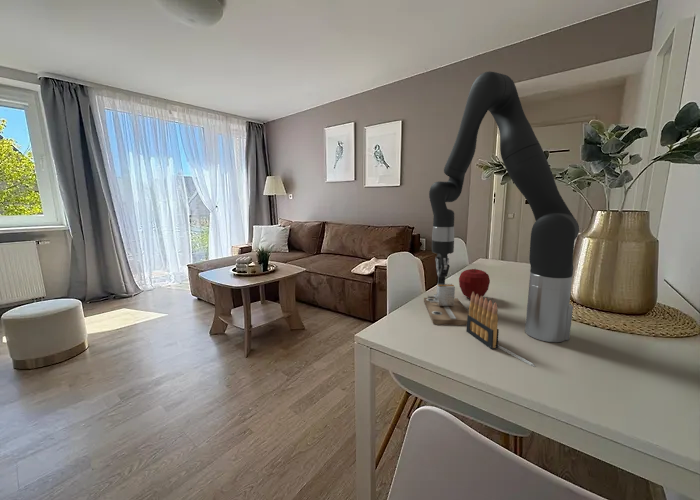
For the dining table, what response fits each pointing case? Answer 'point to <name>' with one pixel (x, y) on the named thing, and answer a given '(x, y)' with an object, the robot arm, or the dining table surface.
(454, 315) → the sliding latch plate
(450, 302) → the grey latch block
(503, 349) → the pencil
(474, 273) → the apple
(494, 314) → the ammunition clip
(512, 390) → the dining table surface
